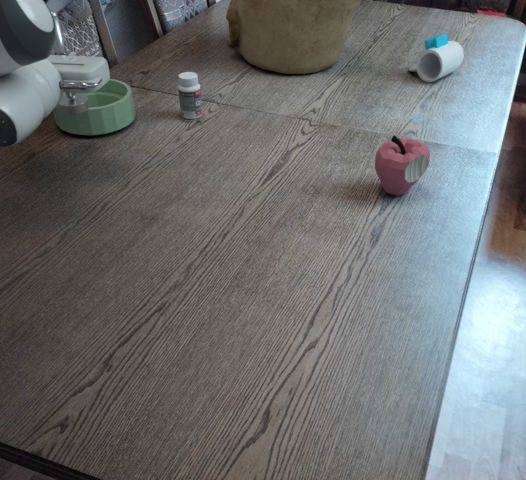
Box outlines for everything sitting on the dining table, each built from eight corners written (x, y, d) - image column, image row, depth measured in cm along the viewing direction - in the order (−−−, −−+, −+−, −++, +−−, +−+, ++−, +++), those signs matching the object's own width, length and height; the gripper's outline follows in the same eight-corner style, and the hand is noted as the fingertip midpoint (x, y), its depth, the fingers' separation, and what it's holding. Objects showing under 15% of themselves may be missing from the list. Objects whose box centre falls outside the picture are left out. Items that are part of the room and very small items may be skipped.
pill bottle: (201, 119, 120) (198, 79, 114) (179, 119, 120) (175, 79, 114) (203, 110, 123) (200, 71, 117) (182, 110, 123) (178, 71, 117)
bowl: (41, 124, 118) (33, 95, 114) (101, 99, 127) (95, 72, 123) (92, 146, 111) (85, 116, 107) (151, 118, 120) (147, 90, 116)
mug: (466, 26, 133) (439, 37, 127) (470, 66, 138) (444, 79, 132) (423, 37, 142) (397, 48, 136) (428, 75, 146) (403, 87, 140)
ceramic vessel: (265, 26, 165) (265, -78, 147) (385, 59, 146) (403, -56, 128) (195, 51, 150) (187, -62, 132) (320, 92, 131) (329, -34, 112)
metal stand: (53, 109, 105) (26, 11, 93) (76, 99, 108) (54, 4, 96) (71, 116, 102) (47, 17, 90) (95, 107, 105) (74, 9, 93)
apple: (387, 208, 95) (397, 153, 88) (360, 185, 101) (368, 131, 93) (432, 196, 98) (445, 142, 91) (403, 174, 103) (414, 121, 96)
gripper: (91, 67, 87) (116, 38, 96) (-33, 61, 88) (4, 34, 97) (99, 107, 91) (123, 76, 101) (-19, 101, 92) (15, 71, 102)
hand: (63, 55), depth 99 cm, fingers closed on metal stand
